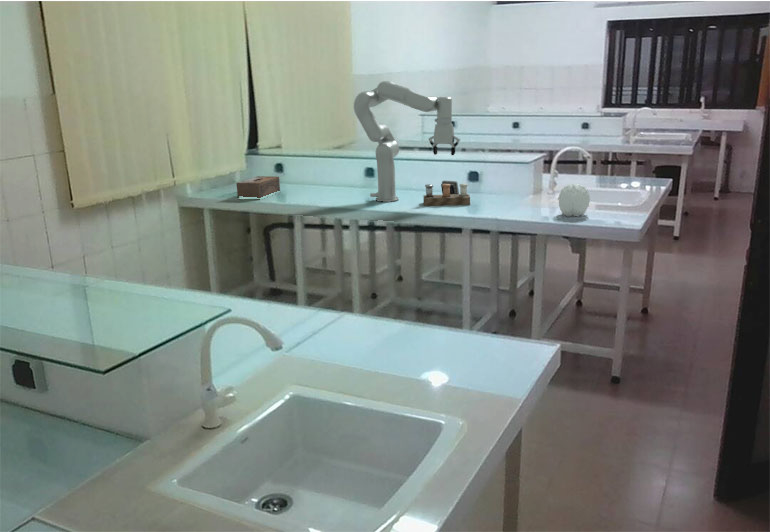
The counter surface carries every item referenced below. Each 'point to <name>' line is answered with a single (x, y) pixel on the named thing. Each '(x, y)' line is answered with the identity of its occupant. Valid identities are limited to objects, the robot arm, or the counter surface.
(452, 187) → the electrical switch
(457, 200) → the socket board
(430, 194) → the plug grey
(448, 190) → the plug terracotta
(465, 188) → the plug ivory
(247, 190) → the tissue box cover
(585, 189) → the brain
